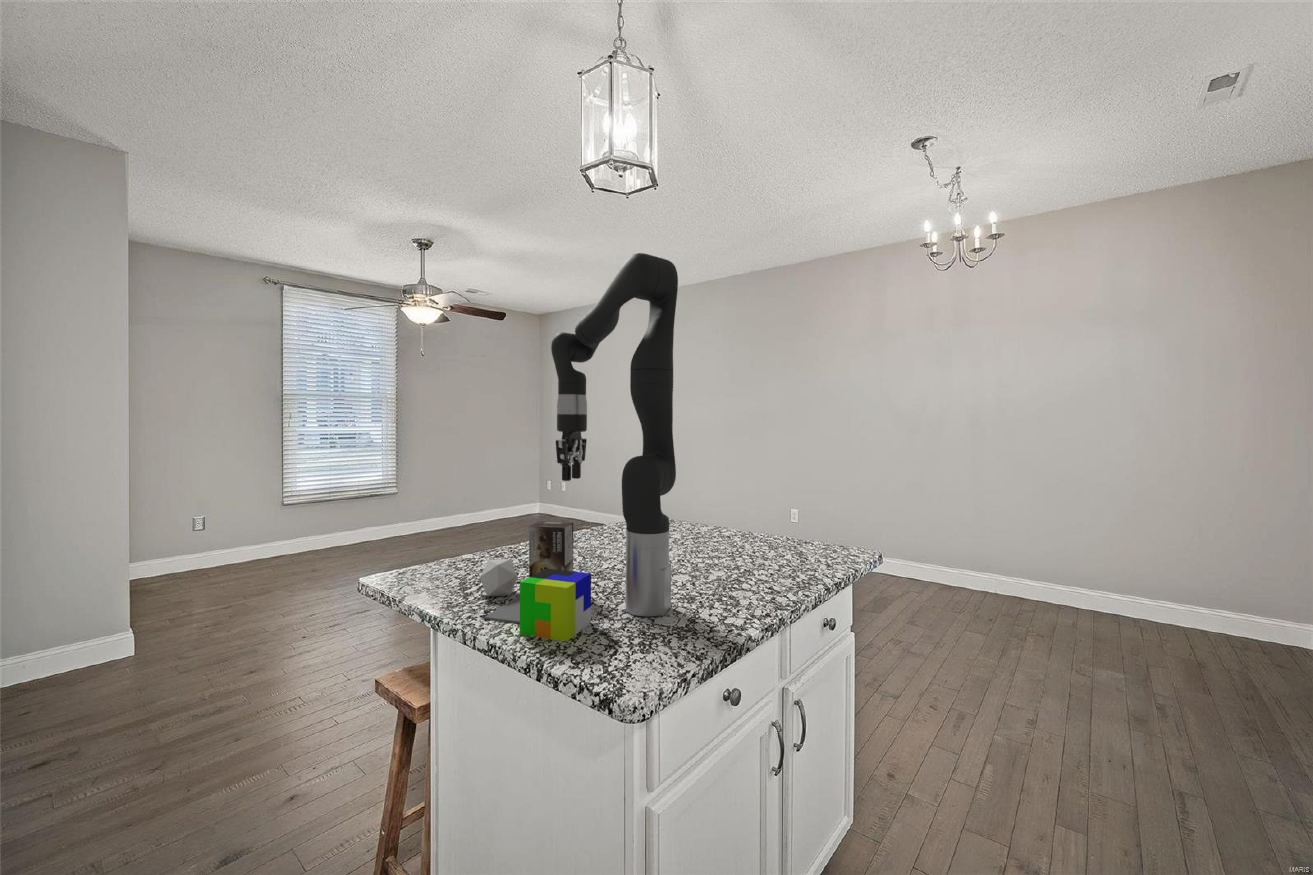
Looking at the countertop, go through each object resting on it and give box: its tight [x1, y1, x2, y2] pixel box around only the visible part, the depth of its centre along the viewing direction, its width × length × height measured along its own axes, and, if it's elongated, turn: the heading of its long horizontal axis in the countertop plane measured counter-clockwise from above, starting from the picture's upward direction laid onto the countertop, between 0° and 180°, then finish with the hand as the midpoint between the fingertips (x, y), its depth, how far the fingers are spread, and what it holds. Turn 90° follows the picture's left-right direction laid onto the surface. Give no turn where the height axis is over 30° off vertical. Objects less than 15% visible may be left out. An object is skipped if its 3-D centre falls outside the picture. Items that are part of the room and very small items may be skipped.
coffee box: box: [528, 520, 574, 578], centre depth 127 cm, size 9×6×16 cm
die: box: [479, 558, 519, 597], centre depth 125 cm, size 8×9×10 cm
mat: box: [484, 595, 520, 624], centre depth 116 cm, size 9×16×1 cm, turn 165°
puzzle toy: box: [519, 568, 592, 642], centre depth 105 cm, size 10×10×10 cm
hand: (571, 479), depth 137 cm, fingers open, 5 cm apart
